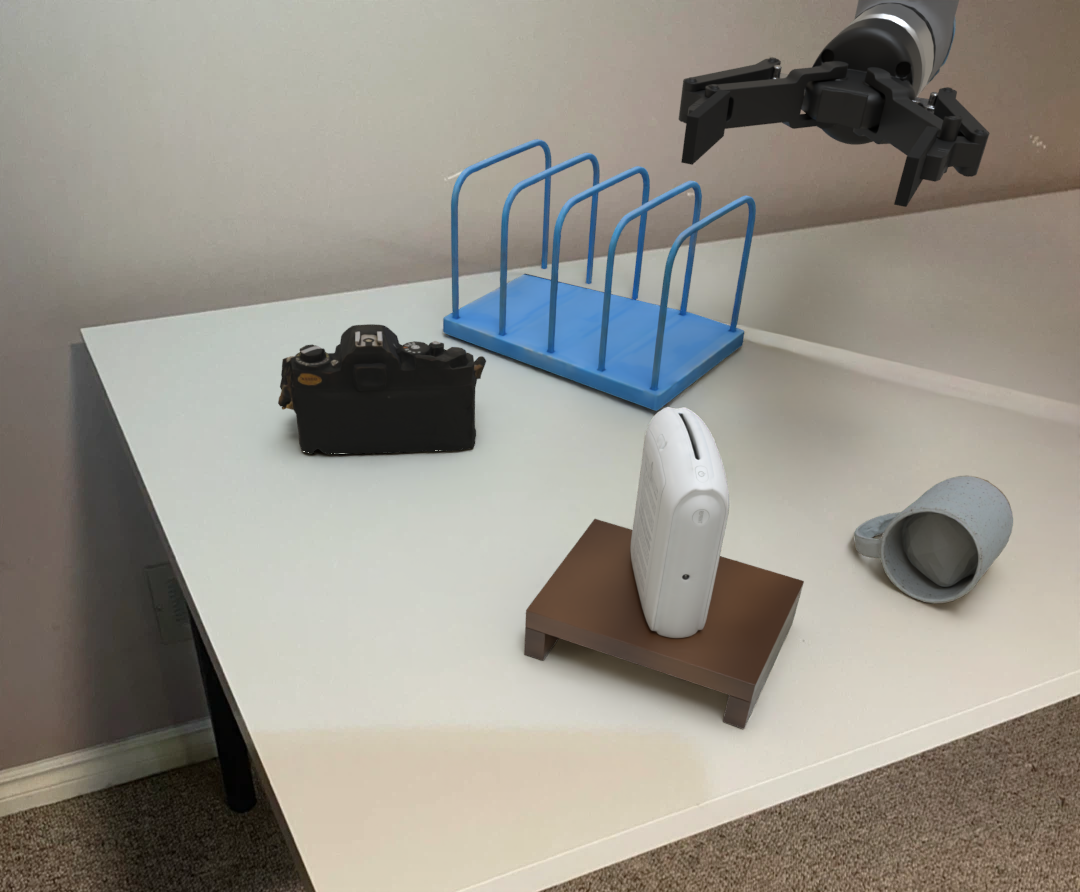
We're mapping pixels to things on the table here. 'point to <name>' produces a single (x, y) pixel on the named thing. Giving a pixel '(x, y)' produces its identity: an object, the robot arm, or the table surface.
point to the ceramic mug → (940, 539)
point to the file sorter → (598, 302)
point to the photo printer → (678, 522)
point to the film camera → (381, 394)
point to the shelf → (622, 631)
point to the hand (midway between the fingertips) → (794, 161)
